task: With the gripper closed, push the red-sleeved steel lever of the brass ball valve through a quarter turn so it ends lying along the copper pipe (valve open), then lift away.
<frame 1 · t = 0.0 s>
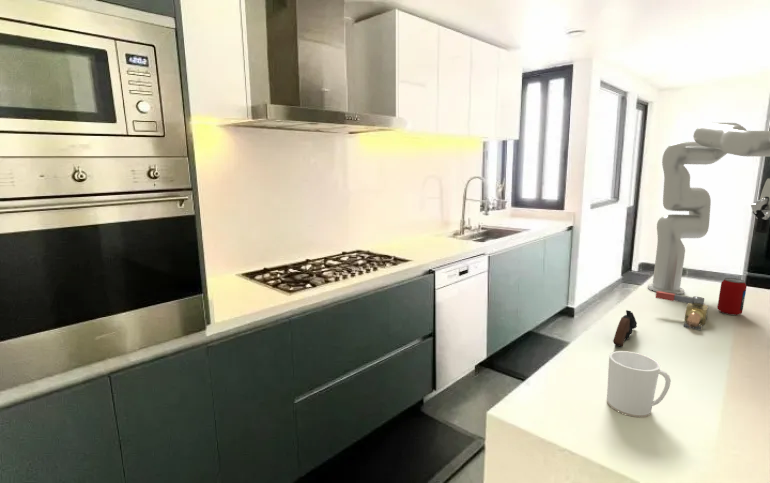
lever: (679, 298, 137), point 7 cm above the countertop, hinge at 0.0°
beverage can: (729, 313, 143), on the countertop
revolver: (625, 339, 120), on the countertop
pipework: (695, 320, 135), on the countertop
mug: (633, 409, 84), on the countertop
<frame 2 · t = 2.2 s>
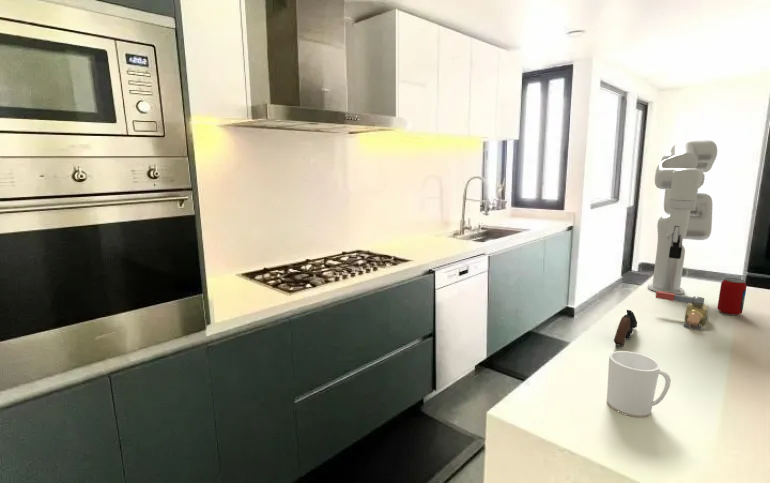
hand: (674, 257, 142), 19 cm above the countertop, tool pointing down, fingers closed
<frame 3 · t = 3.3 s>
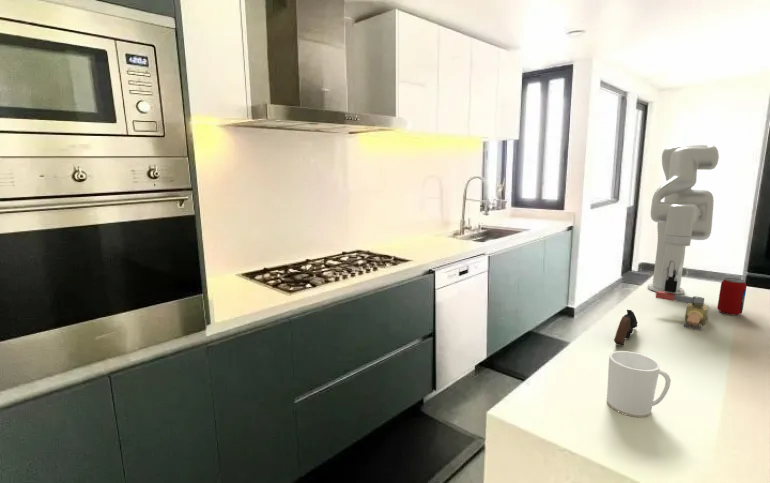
hand: (670, 291, 143), 7 cm above the countertop, tool pointing down, fingers closed
nothing on the countertop moved.
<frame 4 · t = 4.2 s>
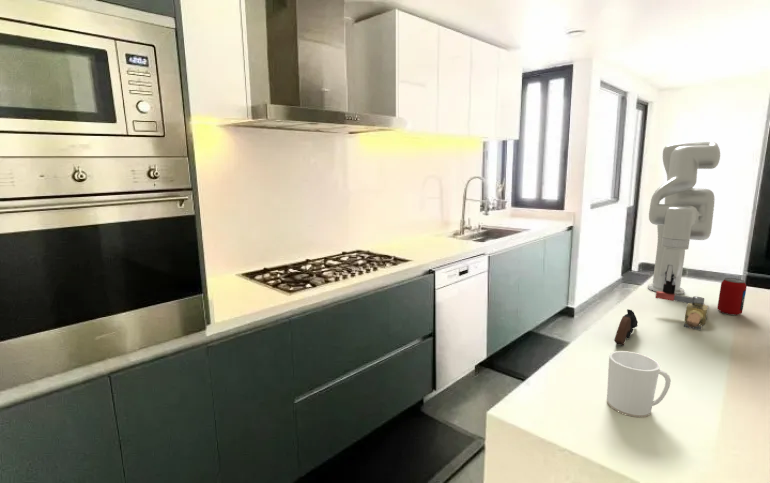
hand: (668, 295, 141), 6 cm above the countertop, tool pointing down, fingers closed
lever: (679, 298, 137), point 7 cm above the countertop, hinge at 0.5°, touching gripper
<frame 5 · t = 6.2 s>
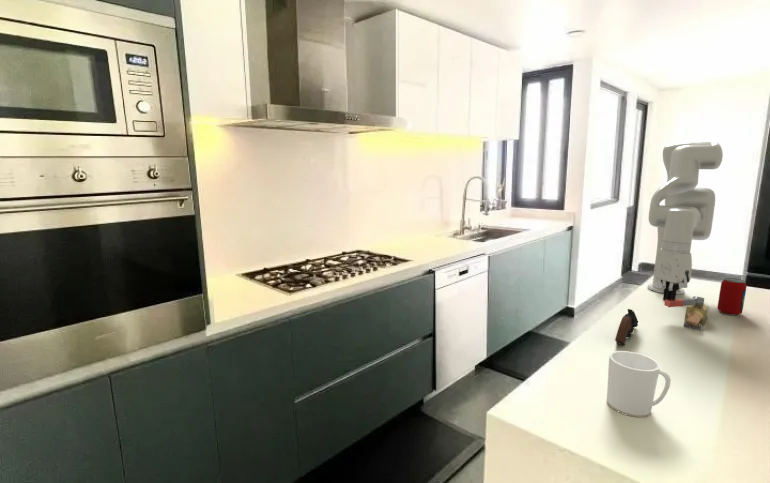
hand: (668, 300, 135), 6 cm above the countertop, tool pointing down, fingers closed
lever: (684, 302, 133), point 7 cm above the countertop, hinge at 51.2°, touching gripper
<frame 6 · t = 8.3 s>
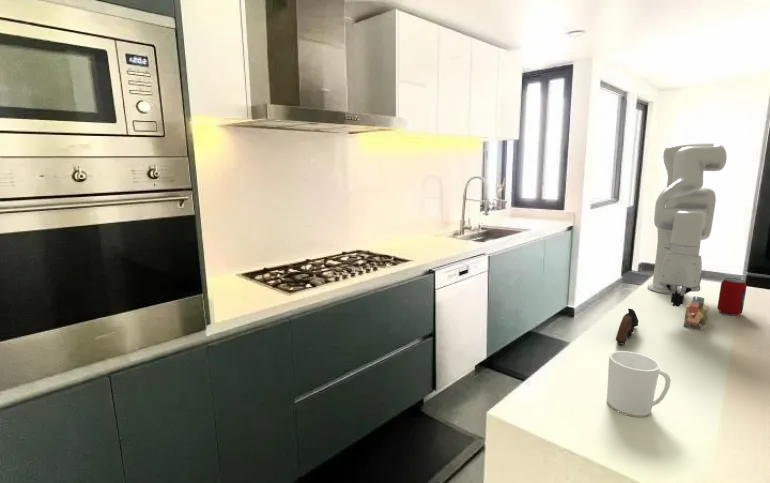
hand: (676, 305, 131), 6 cm above the countertop, tool pointing down, fingers closed
lever: (695, 305, 130), point 7 cm above the countertop, hinge at 88.5°
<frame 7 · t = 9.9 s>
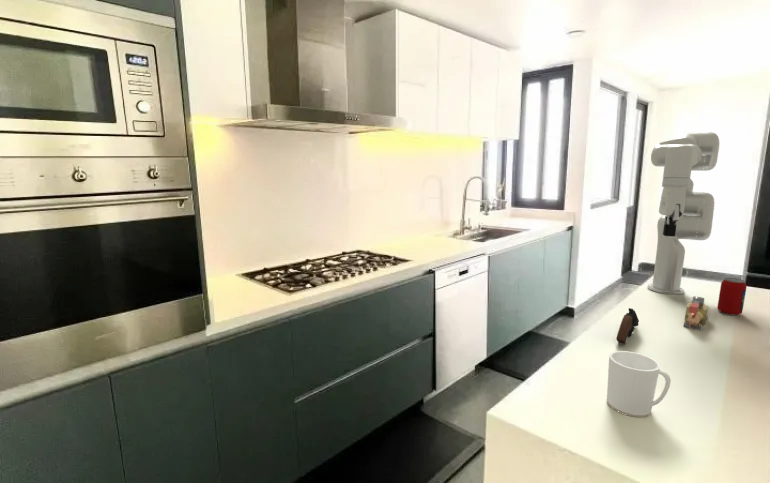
hand: (668, 235, 141), 27 cm above the countertop, tool pointing down, fingers closed
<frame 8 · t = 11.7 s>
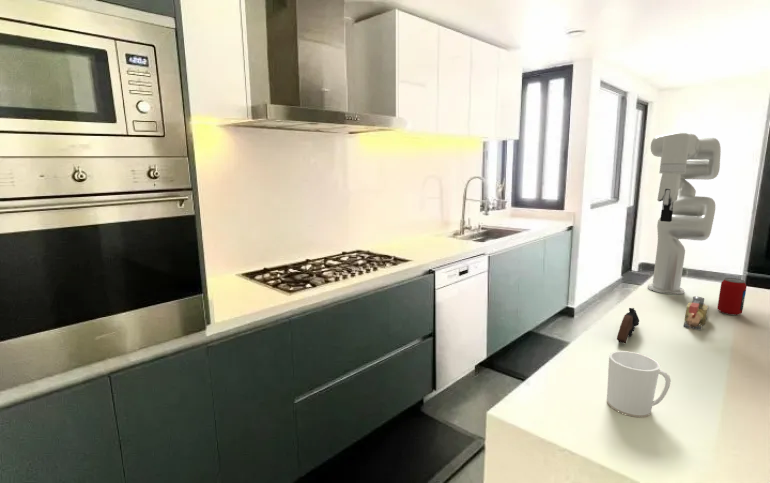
hand: (665, 221, 146), 31 cm above the countertop, tool pointing down, fingers closed
at the end: lever at +88° (first picture: +0°) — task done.
